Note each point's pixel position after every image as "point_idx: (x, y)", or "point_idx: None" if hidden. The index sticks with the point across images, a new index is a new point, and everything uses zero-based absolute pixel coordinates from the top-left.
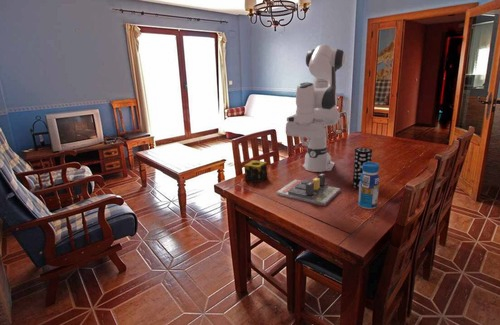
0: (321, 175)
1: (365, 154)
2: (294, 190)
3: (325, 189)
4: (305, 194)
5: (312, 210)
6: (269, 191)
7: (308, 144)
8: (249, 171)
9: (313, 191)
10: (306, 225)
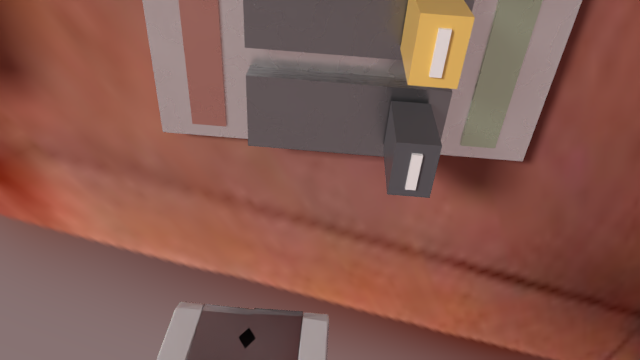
0: None
1: None
2: (280, 115)
3: None
4: (380, 145)
5: (456, 216)
6: (94, 97)
7: (327, 345)
8: None
9: (431, 112)
10: (461, 321)
